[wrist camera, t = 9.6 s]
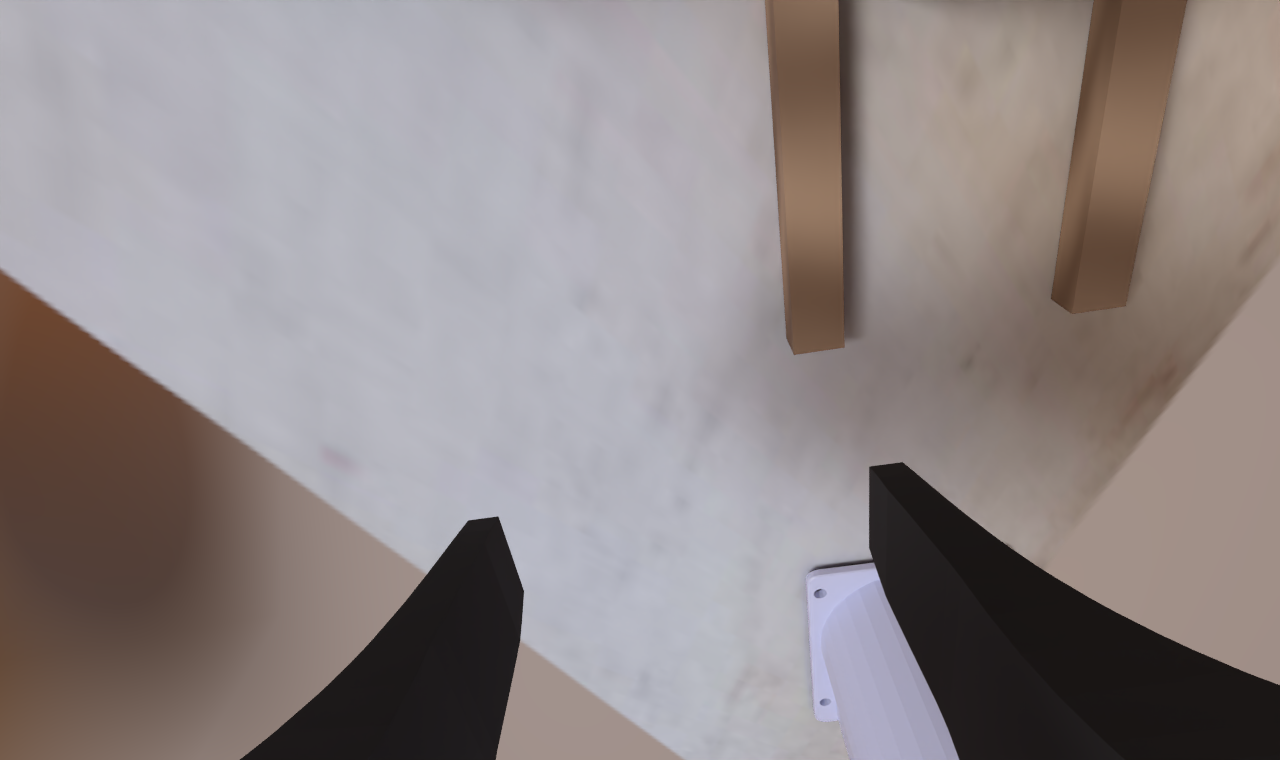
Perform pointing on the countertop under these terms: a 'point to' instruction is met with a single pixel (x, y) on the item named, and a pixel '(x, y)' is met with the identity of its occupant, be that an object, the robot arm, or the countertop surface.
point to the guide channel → (1098, 178)
